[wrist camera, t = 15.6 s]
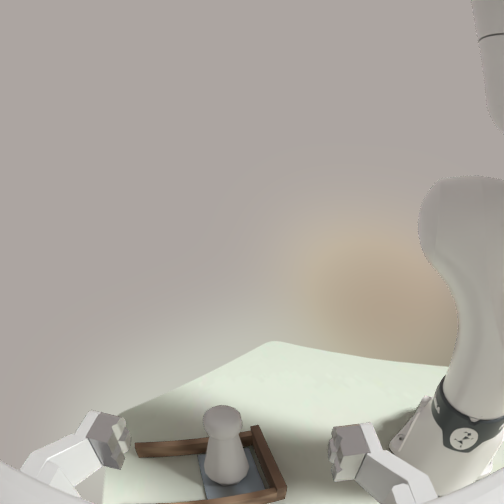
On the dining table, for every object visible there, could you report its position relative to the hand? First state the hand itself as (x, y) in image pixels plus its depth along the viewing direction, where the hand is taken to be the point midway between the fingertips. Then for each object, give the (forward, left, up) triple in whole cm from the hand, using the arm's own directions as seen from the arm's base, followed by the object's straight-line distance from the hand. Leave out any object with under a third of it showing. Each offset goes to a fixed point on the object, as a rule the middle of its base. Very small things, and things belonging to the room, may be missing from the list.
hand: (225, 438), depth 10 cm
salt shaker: (-10, -12, -28) cm, 32 cm away
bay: (-8, -14, -28) cm, 32 cm away
